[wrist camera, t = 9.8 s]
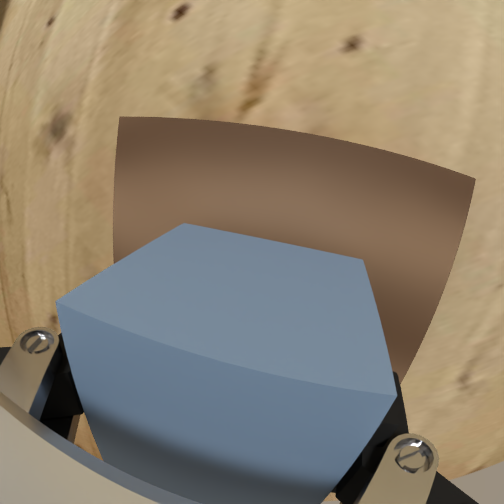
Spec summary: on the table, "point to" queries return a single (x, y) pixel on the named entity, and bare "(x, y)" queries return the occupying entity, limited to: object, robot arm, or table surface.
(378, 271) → the walnut base
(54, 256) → the table surface
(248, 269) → the slate cube
